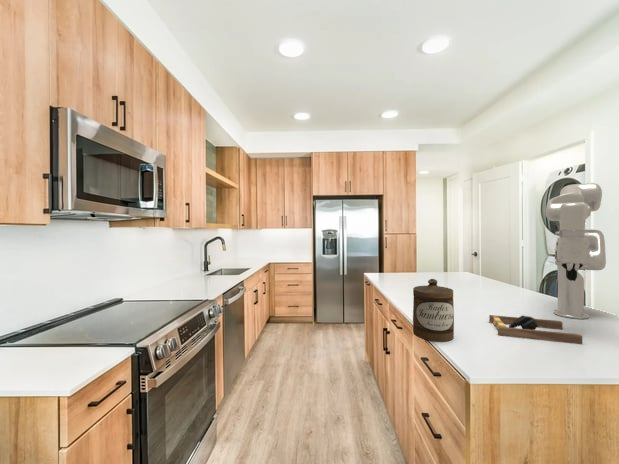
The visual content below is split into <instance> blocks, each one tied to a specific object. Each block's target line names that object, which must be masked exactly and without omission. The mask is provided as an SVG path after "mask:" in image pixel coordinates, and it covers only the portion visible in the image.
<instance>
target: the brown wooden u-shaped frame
mask: <svg viewBox="0 0 619 464" xmlns="http://www.w3.org/2000/svg"><path fill="white" fill-rule="evenodd" d="M488 316H489V317H488V318H489V320H488V321H489V323H490V324H493V326H494V327H495V328H496V330H497V335H498V336H500V337H501V336H502V337H511V338H519V339H520V338H521V339H528V340H529V339H532V340H537V341H539V340H540V341H541V340H542V341H549V342H560V343H568V344H569V343H570V344H578V345H583V335H582V334H581V333H572V332H571V333H570V332H562V331H549V330H538V329H535V330H530V329H522V328H521V327H520V328H518V327H516V328H515V327H514V328H509V325H510V324H511V323H512V322H513V323H514V321H515V320H516V319H517V318H519V317H520V316H518V317H517V316H505V315H504V316H503V315H496V314H495V315H493V314H489V315H488ZM534 319H535V321H536V322H537V323H538V327H537V328H544V329H554V330H563V324H564V323H563V321H561V320H556V319H555V320H554V319H553V320H552V319H542V318H541V319H540V318H534ZM513 323H512V324H513ZM507 325H508V327H507Z"/></svg>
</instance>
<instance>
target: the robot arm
mask: <svg viewBox="0 0 619 464" xmlns="http://www.w3.org/2000/svg"><path fill="white" fill-rule="evenodd" d="M602 197H603V190H602V187H601V186H600V185H599V184H598V183H595V182H591V183H589V182H587V183H575V184H574V183H573V184H568V185H566V186H564V187H562V188H561V190H560V193H559V195H556V196H555V197H551V198H550V199H549V200H547V203H546V206H545V218H546V219H547V220H548V221H551V222H557V221H558V223H559V230H558V231H555V232H554V234H555V235H556V236H559V237H557V240H556V243H555V249H554V260H555V261H554V265H556V270H557V309H554V310H553V314H554V315H557V316H560V317H563V318H569V319H578V320H584V319H585V320H586V319H589V314H588V313H585V279H584V277H583V275H582V274H581V273H580V272H578V271H579V270H582V271H602V270H604V269H605V268H606V265H607V258H606V254H607V253H606V242H605V241H606V240H605V235H604V233H603V232H602V231H601V230H599V229H585V228H586V226H585V225H586V224H585V223H586V220H587V219H588V218H590V216H591V213H592V212H596V211H598V210H599V209H600V208H601V203H602Z"/></svg>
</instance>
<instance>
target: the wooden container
mask: <svg viewBox="0 0 619 464" xmlns="http://www.w3.org/2000/svg"><path fill="white" fill-rule="evenodd" d="M427 283H428V285H417V286H414V287H413V288H412V289H413V294H412V295H413V305H412V308H413V310H412V333H413V335H414V336H415V337H417V338H419V339H421V340H425V341H428V342H429V341H430V342H440V343H441V342H442V343H443V342H449V341H452V340H453V339H454V337H455V335H454V334H455V332H454V331H455V330H454V329H455V312H454V311H455V310H454V290H453V289H452V288H449V287H445V286H440V285H438V280H437V279H435V278H430V279H428V280H427Z"/></svg>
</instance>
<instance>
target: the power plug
mask: <svg viewBox="0 0 619 464" xmlns="http://www.w3.org/2000/svg"><path fill="white" fill-rule="evenodd" d="M518 317H519V318H517V319H516V320H515V321H514V323H513V322H512V323H513V324H512V323H511V324H510V325H508V327H509V328H518V327H520V328H521V329H530V330H537V328H539V327H538V323H537V322H536V321H535V319H536V318H534V317H533V316H528V315H521V316H518Z"/></svg>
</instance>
